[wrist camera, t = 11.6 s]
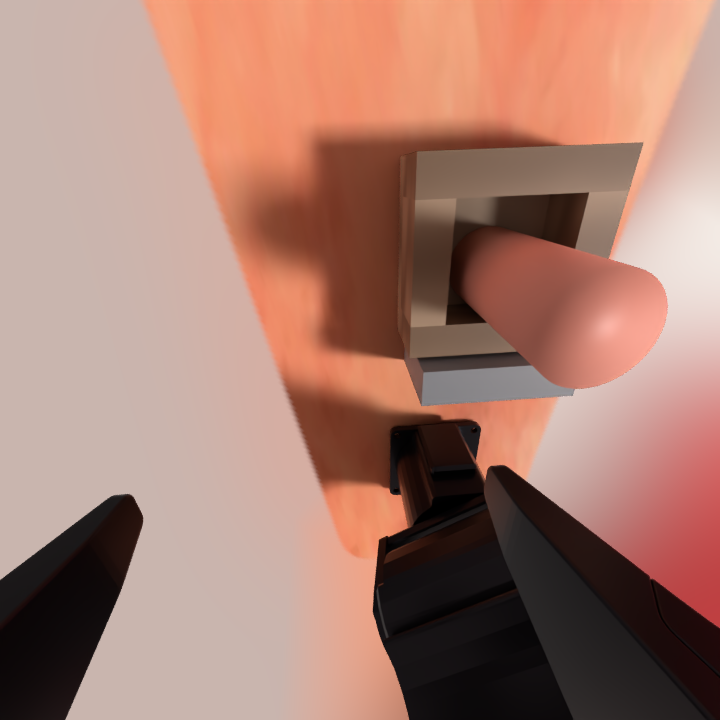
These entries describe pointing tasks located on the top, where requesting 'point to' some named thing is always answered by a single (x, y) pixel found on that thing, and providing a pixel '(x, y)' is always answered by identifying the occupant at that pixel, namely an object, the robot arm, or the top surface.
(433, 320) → the socket block
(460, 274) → the dowel
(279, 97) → the top surface
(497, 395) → the wall
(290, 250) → the top surface
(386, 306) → the top surface
